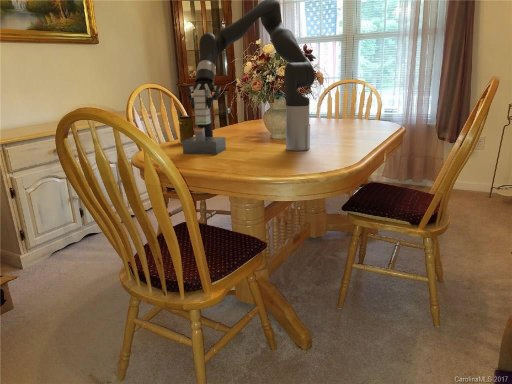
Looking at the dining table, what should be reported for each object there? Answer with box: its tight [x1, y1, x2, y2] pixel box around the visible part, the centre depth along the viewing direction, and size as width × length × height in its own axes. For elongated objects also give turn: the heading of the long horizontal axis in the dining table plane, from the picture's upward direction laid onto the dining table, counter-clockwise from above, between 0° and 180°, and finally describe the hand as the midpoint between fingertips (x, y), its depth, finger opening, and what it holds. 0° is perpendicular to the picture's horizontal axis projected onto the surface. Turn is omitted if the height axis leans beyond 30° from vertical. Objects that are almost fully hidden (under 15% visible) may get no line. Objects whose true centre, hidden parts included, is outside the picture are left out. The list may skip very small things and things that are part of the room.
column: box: [192, 89, 211, 125], centre depth 161 cm, size 5×5×13 cm
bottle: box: [196, 107, 214, 137], centre depth 189 cm, size 7×7×20 cm
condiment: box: [178, 115, 194, 145], centre depth 186 cm, size 7×8×12 cm
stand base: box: [182, 127, 227, 156], centre depth 164 cm, size 14×11×10 cm
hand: (201, 107), depth 159 cm, fingers closed on column, 5 cm apart
